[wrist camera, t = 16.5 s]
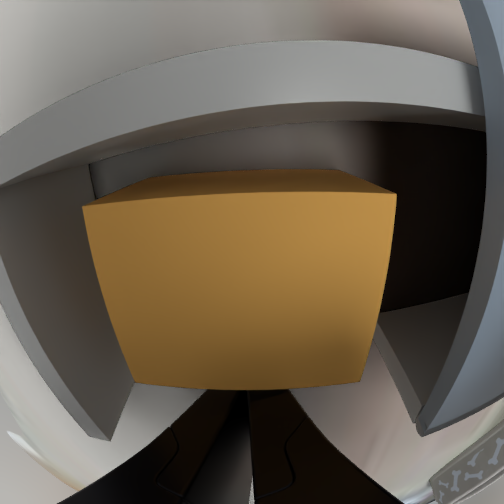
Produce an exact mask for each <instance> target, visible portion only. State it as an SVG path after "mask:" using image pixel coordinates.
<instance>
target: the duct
mask: <svg viewBox="0 0 504 504" xmlns="http://www.w3.org/2000/svg"><path fill="white" fill-rule="evenodd" d="M325 121H392V122H411V123H424V124H435V125H444V126H452V127H460V128H467V129H473V130H479V131H485V132H486V119H485V108H484V99H483V92H482V85H481V79H480V73H479V68H478V67H476V66H473V65H470V64H467V63H464V62H461V61H458V60H454V59H451V58H447V57H443V56H439V55H435V54H431V53H427V52H422V51H418V50H413V49H407V48H402V47H395V46H389V45H382V44H373V43H364V42H352V41H334V40H292V41H273V42H261V43H251V44H243V45H235V46H229V47H222V48H216V49H211V50H205V51H200V52H196V53H191V54H187V55H182V56H178V57H174V58H170V59H166V60H163V61H159V62H156V63H152V64H149V65H146V66H143V67H139V68H136V69H133V70H130V71H128V72H125V73H122V74H119V75H116V76H114V77H111V78H109V79H106V80H104V81H101V82H99V83H96V84H94V85H92V86H89V87H87V88H85V89H82V90H80V91H78V92H76V93H74V94H72V95H70V96H68V97H66V98H64V99H62V100H60V101H58V102H56V103H54V104H52V105H50V106H48V107H46V108H45V109H43V110H41V111H39V112H38V113H36V114H34V115H32V116H31V117H29V118H28V119H26V120H24V121H23V122H21V123H19V124H18V125H16V126H15V127H13V128H12V129H10V130H9V131H7V132H6V133H4V134H3V135H2V136H0V303H1V305H2V307H3V309H4V312H5V314H6V316H7V318H8V320H9V322H10V324H11V326H12V328H13V329H14V331H15V333H16V335H17V337H18V339H19V341H20V342H21V344H22V346H23V348H24V349H25V351H26V353H27V354H28V356H29V358H30V359H31V361H32V362H33V364H34V366H35V367H36V369H37V370H38V372H39V373H40V375H41V376H42V378H43V379H44V381H45V382H46V384H47V385H48V386H49V388H50V389H51V391H52V392H53V393H54V395H55V396H56V397H57V399H58V400H59V401H60V403H61V404H62V405H63V406H64V408H65V409H66V410H67V411H68V413H69V414H70V415H71V416H72V417H73V419H74V420H75V421H76V422H77V423H78V424H79V426H80V427H81V428H82V429H83V430H84V431H85V432H86V433H87V435H88V436H90V437H94V438H98V439H102V440H106V441H111V439H112V436H113V434H114V431H115V428H116V426H117V423H118V421H119V418H120V416H121V413H122V411H123V408H124V406H125V404H126V401H127V399H128V396H129V394H130V392H131V389H132V387H133V384H134V382H135V381H134V379H133V377H132V374H131V372H130V370H129V367H128V365H127V362H126V360H125V357H124V355H123V352H122V350H121V347H120V345H119V342H118V339H117V337H116V334H115V331H114V328H113V326H112V323H111V320H110V317H109V314H108V311H107V308H106V304H105V301H104V298H103V295H102V291H101V288H100V284H99V281H98V277H97V273H96V269H95V266H94V262H93V258H92V253H91V249H90V245H89V240H88V235H87V230H86V225H85V220H84V215H83V209H82V206H84V205H86V204H88V203H91V202H93V201H95V196H94V191H93V186H92V182H91V176H90V171H89V166H88V164H90V163H93V162H96V161H99V160H103V159H106V158H109V157H113V156H116V155H119V154H123V153H126V152H130V151H134V150H138V149H141V148H145V147H149V146H154V145H158V144H162V143H166V142H171V141H175V140H180V139H185V138H190V137H195V136H201V135H206V134H212V133H218V132H224V131H231V130H237V129H245V128H252V127H261V126H270V125H280V124H292V123H306V122H325ZM468 295H469V293H465V294H461V295H458V296H454V297H450V298H446V299H442V300H438V301H434V302H430V303H426V304H421V305H417V306H412V307H408V308H403V309H398V310H394V311H389V312H384V313H379V315H378V319H377V323H376V327H375V331H374V335H373V339H374V341H375V343H376V345H377V347H378V349H379V351H380V353H381V355H382V357H383V359H384V361H385V363H386V365H387V367H388V370H389V372H390V374H391V376H392V378H393V380H394V382H395V384H396V386H397V389H398V391H399V393H400V395H401V397H402V400H403V402H404V404H405V406H406V409H407V411H408V413H409V415H410V418H411V420H412V422H413V423H416V419H417V416H418V415H420V414H421V412H422V410H423V408H424V406H425V404H426V402H427V400H428V399H429V397H430V395H431V393H432V391H433V388H434V386H435V384H436V382H437V380H438V378H439V376H440V373H441V371H442V369H443V367H444V364H445V362H446V359H447V357H448V354H449V352H450V349H451V347H452V344H453V342H454V339H455V336H456V333H457V330H458V327H459V325H460V322H461V318H462V315H463V312H464V309H465V305H466V302H467V298H468Z"/></svg>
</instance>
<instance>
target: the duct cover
mask: <svg viewBox="0 0 504 504" xmlns="http://www.w3.org/2000/svg"><path fill="white" fill-rule="evenodd" d="M459 1H460V3H461V6H462V9H463V12H464V15H465V18H466V21H467V24H468V27H469V31H470V34H471V38H472V42H473V45H474V50H475V54H476V58H477V63H478V68H479V73H480V79H481V85H482V92H483V99H484V108H485V119H486V135H487V181H486V197H485V208H484V217H483V225H482V233H481V239H480V245H479V251H478V256H477V261H476V266H475V270H474V275H473V279H472V283H471V287H470V291H469V295H468V298H467V302H466V305H465V309H464V312H463V315H462V318H461V322H460V325H459V327H458V330H457V333H456V336H455V339H454V342H453V344H452V347H451V349H450V352H449V354H448V357H447V359H446V362H445V364H444V367H443V369H442V371H441V373H440V376H439V378H438V380H437V382H436V384H435V386H434V388H433V391H432V393H431V395H430V397H429V399H428V400H427V402H426V404H425V406H424V408H423V410H422V412H421V414H420V415H418V416H417V419H416V429H417V432H418V434H419V435H420V436H421V437H424V436H426V435H429V434H431V433H434V432H436V431H439V430H441V429H443V428H446V427H448V426H450V425H452V424H454V423H457V422H459V421H461V420H463V419H465V418H467V417H469V416H471V415H473V414H475V413H477V412H479V411H481V410H482V409H484V408H486V407H488V406H490V405H491V404H493V403H495V402H496V401H498V400H500V399H501V398H503V397H504V0H459Z"/></svg>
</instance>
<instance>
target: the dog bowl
mask: <svg viewBox="0 0 504 504" xmlns="http://www.w3.org/2000/svg"><path fill="white" fill-rule="evenodd" d="M503 475H504V420H503V421H501V422H500V423H499V424H497V425H496V426H495V427H494V428H492V429H491V430H490V431H489V432H487V433H486V434H485V435H484V436H482V437H481V438H480V439H478V440H477V441H476V442H475V443H473V444H472V445H471V446H469V447H468V448H467V449H466V450H464V451H463V452H462V453H460V454H459V455H458V456H457V457H455V458H454V459H453V460H451V461H450V462H449V463H448V464H446V465H445V466H444V467H443V468H441V469H440V470H439V471H438V472H437V473H436V474H434V475H433V476H432V477H431V478H430V479H429V481H430V483H431V486H432V489H433V494H434V498H435V500H436V501H437V502H438V504H459V503H461V502H462V501H464V500H466V499H468V498H470V497H472V496H473V495H475V494H477V493H478V492H480V491H482V490H483V489H485V488H486V487H488V486H489V485H491V484H492V483H494V482H495V481H497V480H498V479H499V478H501V477H502V476H503Z"/></svg>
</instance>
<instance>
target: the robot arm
mask: <svg viewBox="0 0 504 504" xmlns="http://www.w3.org/2000/svg"><path fill="white" fill-rule="evenodd" d="M170 427H171V428H170ZM170 427H168V428H167V429H165V430H164V431H163V432H162V433H161V434H160V435H159V436H158V437H157V438H155V439H154V440H153V441H152V442H151V443H150V444H148V445H147V446H146V447H145V448H143V449H142V450H141V451H139V452H138V453H137V454H135V455H134V456H133V457H131V458H130V459H128V460H127V461H126V462H124V463H123V464H121V465H120V466H118V467H117V468H115V469H114V470H112V471H111V472H109V473H108V474H106V475H105V476H103V477H101V478H100V479H98V480H97V481H95V482H93V483H92V484H90V485H89V486H87V487H85V488H84V489H82V490H80V491H79V492H77V493H75V494H73V495H72V496H70V497H68V498H66V499H65V500H63V501H61V502H59V503H57V504H249V497H250V489H251V482H252V476H253V489H254V500H255V502H254V504H404V503H403V502H401V501H400V500H399V499H397V498H396V497H395V496H393V495H392V494H391V493H389V492H388V491H387V490H385V489H384V488H383V487H382V486H380V485H379V484H378V483H377V482H375V481H374V480H373V479H372V478H370V477H369V476H368V475H367V474H366V473H364V472H363V471H362V470H361V469H360V468H358V467H357V466H356V465H355V464H354V463H353V462H351V461H350V460H349V459H348V458H347V457H346V456H344V455H343V454H342V453H341V452H340V451H339V450H338V449H337V448H336V447H335V446H334V445H333V444H332V443H331V442H330V441H329V440H328V439H327V438H326V437H325V436H324V435H323V434H322V432H321V431H320V430H319V429H318V428H317V426H316V425H315V424H314V422H313V421H312V420H311V418H309V417H308V415H307V414H306V412H305V411H304V410H303V408H302V407H301V405H300V404H299V403H298V401H297V400H296V399H295V397H294V396H293V394H292V393H291V392H290V390H289V389H273V390H216V389H207V390H206V391H205V392H204V393H203V394H202V395H201V396H200V397H199V398H198V399H197V400H196V401H195V402H194V403H193V404H192V405H191V406H190V407H189V408H188V409H187V410H186V411H185V412H184V413H183V414H182V415H181V416H180V417H179V418H178V419H177V420H176V421H175V422H174V423H173V424H171V426H170Z"/></svg>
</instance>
